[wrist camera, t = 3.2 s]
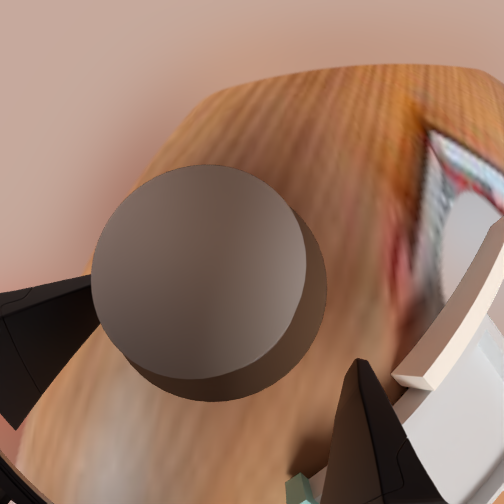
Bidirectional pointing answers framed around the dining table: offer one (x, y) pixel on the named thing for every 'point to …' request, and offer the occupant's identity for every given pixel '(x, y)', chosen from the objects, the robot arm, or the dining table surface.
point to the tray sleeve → (456, 318)
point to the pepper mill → (209, 283)
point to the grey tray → (450, 427)
